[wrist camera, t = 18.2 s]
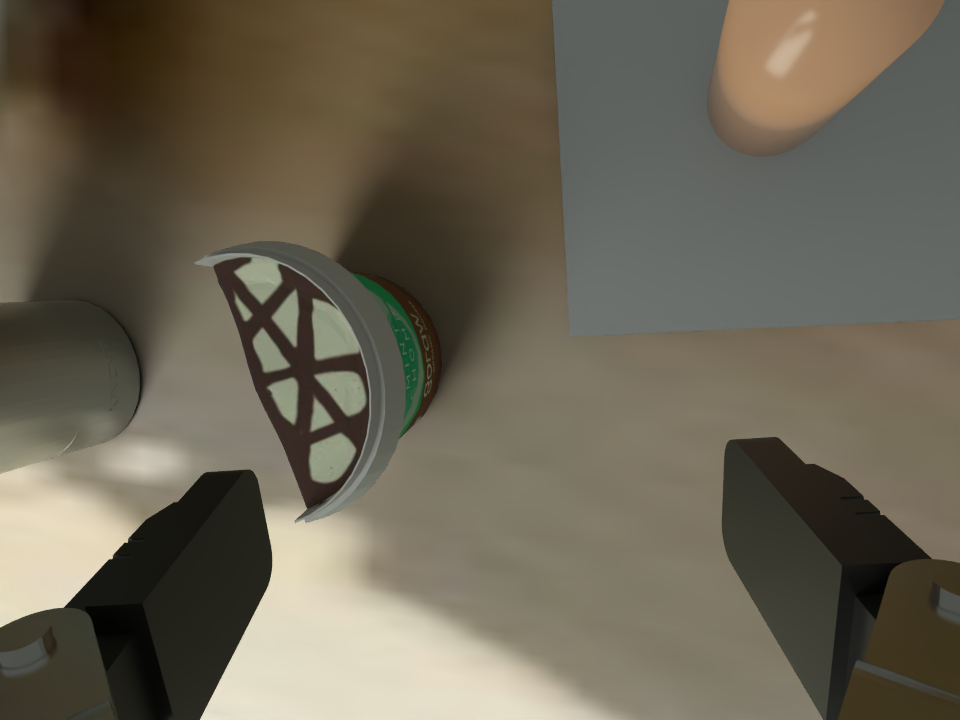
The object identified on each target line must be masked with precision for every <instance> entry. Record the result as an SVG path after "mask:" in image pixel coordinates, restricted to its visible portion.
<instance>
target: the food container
mask: <svg viewBox="0 0 960 720" xmlns="http://www.w3.org/2000/svg"><path fill="white" fill-rule="evenodd" d="M203 258H204V259H202V260H199V261H197V262H194V263H195V264H197V265H203V266H209V267H214V270H215V273H216V275H217V279H218V283H219V285H220V287H221V288H222V290H223V292H224V294H225V296H226V299H227V301H228V303H229V306H230V309H231V312H232V314H233V317H234V320H235V322H236V325H237V328H238V331H239V334H240V337H241V341H242V345H243V348H244V352H245V356H246V359H247V363H248V367H249V370H250V373H251V376H252V380H253V383H254V386H255V389H256V392H257V394H258V396H259V398H260V400H261V402H262V404H263V407H264V409H265V411H266V413H267V415H268V417H269V419H270V421H271V422H272V424H273V426H274V428H275V430H276V432H277V434H278V436H279V439H280V441H281V443H282V445H283V447H284V450H285V452H286V455H287V457H288V460H289V462H290V465H291V468H292V470H293V473H294V475H295V478H296V480H297V483H298V486H299V488H300V491H301V494H302V496H303V499H304V502H305V504H306V507H307V510H306V511H305V512H304V513H303V514H302V515H301V516H299V517H298V518H297V519H296V520H295V523H296V522H299V521H301V520H303V519H305V522H306V523H307V522H311V521H314V520H318V519H321V518H324V517H327V516H329V515H331V514H334V513H336V512H338V511H341V510H343V509H344V508H346V507H347V506H349V505H350V504H352V503H353V502H355V501H356V500H358V499H359V498H360V497H361V496H362V495H363V494H365V493H366V492H367V491H368V490H369V489H370V488H371V487H372V486H373V485H374V484H375V482H376V481H377V480H378V478H379V477H380V476H381V474H382V473H383V472H384V470H385V469H386V467H387V465H388V463H389V461H390V459H391V457H392V455H393V453H394V451H395V449H396V446H397V443H398V440H399V439H400V438H401V437H402V436H403V435H404V434H405V433H406V432H407V431H408V430H409V429H410V428H411V427H412V426H413V425H414V424H415V423H416V422H417V421H418V420H419V419H420V418H421V417H422V416H423V415H424V414H425V412H426V410H427V408H428V406H429V405H430V403H431V401H432V399H433V397H434V396H435V394H436V392H437V387H438V382H439V377H440V372H441V367H442V362H441V352H440V343H439V339H438V336H437V333H436V329H435V327H434V325H433V323H432V321H431V319H430V317H429V315H428V314H427V313H426V311H425V310H424V308H423V307H422V305H421V304H420V303H419V302H418V301H417V300H416V299H415V298H414V297H413V296H412V295H411V294H410V293H408V292H407V291H406V290H404V289H403V288H402V287H400V286H398V285H396V284H394V283H393V282H391V281H388V280H385V279H383V278H380V277H376V276H371V275H366V274H361V273H356V272H351V271H347V270H346V269H345V268H344V267H342V266H341V265H340V264H339V263H337V262H335V261H333V260H332V259H330V258H328V257H326V256H325V255H323V254H321V253H319V252H317V251H314V250H311V249H308V248H306V247H303V246H300V245H296V244H290V243H284V242H279V241H258V242H253V243H248V244H242V245H237V246H234V247H230V248H226V249H223V250H219V251H217V252H214V253H211V254H209V255H206V256H203Z"/></svg>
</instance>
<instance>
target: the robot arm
mask: <svg viewBox="0 0 960 720" xmlns="http://www.w3.org/2000/svg"><path fill="white" fill-rule="evenodd" d="M139 390H140V377H139V368H138V363H137V358H136V355H135V352H134V350H133V347H132V345H131V342H130V340H129V338H128V337H127V335H126V334H125V332H124V330H123V329H122V327H121V326H120V325H119V324H118V323H117V322H116V321H115V319H114V318H113V317H112V316H111V315H109V314H108V313H107V312H105V311H104V310H103V309H101V308H100V307H98V306H95V305H93V304H91V303H89V302H84V301H79V300H60V301H38V302H8V303H0V474H1V473H4V472H8V471H11V470H14V469H17V468H21V467H24V466H27V465H31V464H34V463H37V462H41V461H44V460H48V459H51V458H55V457H58V456H61V455H64V454H68V453H71V452H74V451H77V450H81V449H84V448H87V447H91V446H94V445H97V444H100V443H104V442H107V441H109V440H110V439H112V438H114V437H115V436H117V435H118V434H119V433H120V432H121V431H122V430H123V429H124V428H125V427H126V426H127V424H128V423H129V421H130V420H131V418H132V416H133V414H134V411H135V408H136V406H137V403H138V397H139ZM722 534H723V541H724V545H725V549H726V553H727V556H728V558H729V560H730V562H731V564H732V566H733V568H734V569H735V571H736V573H737V574H738V576H739V578H740V579H741V581H742V583H743V584H744V586H745V588H746V590H747V591H748V593H749V595H750V596H751V598H752V600H753V601H754V603H755V605H756V606H757V608H758V610H759V612H760V613H761V615H762V617H763V618H764V620H765V622H766V623H767V625H768V627H769V628H770V630H771V632H772V634H773V635H774V637H775V639H776V640H777V642H778V644H779V645H780V647H781V649H782V650H783V652H784V654H785V656H786V657H787V659H788V661H789V662H790V664H791V666H792V667H793V669H794V671H795V672H796V674H797V676H798V678H799V679H800V681H801V683H802V684H803V686H804V688H805V689H806V691H807V693H808V694H809V696H810V698H811V700H812V701H813V703H814V705H815V706H816V708H817V710H818V711H819V713H820V715H821V716H822V718H823V720H960V563H957V562H952V561H946V560H937V559H932V558H931V557H929V556H928V555H927V554H926V553H925V552H924V551H923V550H922V549H921V548H920V547H919V546H917V545H916V544H915V543H914V542H913V541H912V540H911V539H910V538H909V537H908V536H906V535H905V534H904V533H903V532H902V531H901V530H900V529H899V528H898V527H897V526H896V525H894V524H893V523H892V522H891V521H890V520H889V519H888V518H887V517H886V516H885V515H880V511H879V510H878V509H877V508H876V507H875V506H874V505H873V504H872V503H870V502H869V501H868V500H864V497H863V495H862V494H861V493H859V492H858V491H857V490H856V489H855V488H854V487H853V486H852V485H851V484H850V483H849V482H847V481H846V480H845V479H844V478H842V477H840V476H838V475H836V474H834V473H832V472H830V471H828V470H826V469H824V468H822V467H820V466H818V465H816V464H805V463H804V462H803V461H802V460H801V459H800V458H799V457H798V456H797V455H796V454H795V453H794V452H793V451H792V450H791V449H790V448H788V447H787V446H786V445H785V444H784V443H783V442H782V441H781V440H780V439H779V438H777V437H768V438H752V439H736V440H730V441H729V442H728V443H727V445H726V449H725V456H724V480H723V506H722ZM271 571H272V550H271V544H270V539H269V534H268V529H267V524H266V519H265V514H264V509H263V504H262V499H261V494H260V489H259V484H258V480H257V477H256V475H255V474H254V472H253V471H252V470H234V471H218V472H206V473H204V474H203V475H202V476H201V477H200V478H199V479H198V480H197V481H196V482H195V483H194V485H193V486H192V487H191V488H190V489H189V490H188V491H187V492H186V494H185V495H184V496H183V497H182V498H181V499H180V500H179V501H178V502H175V503H172V504H171V505H169V506H167V507H166V508H164V509H163V510H161V511H159V512H158V513H156V514H155V515H153V516H151V517H150V518H148V519H147V520H145V522H144V523H143V524H142V525H141V526H140V527H139V528H138V529H137V530H136V531H135V532H134V533H133V534H132V535H131V537H130V538H129V539H128V543H124V544H123V545H122V546H121V547H120V548H119V549H118V550H117V551H116V553H115V554H114V555H113V559H109V560H108V561H107V562H106V563H105V564H104V565H103V566H102V567H101V569H100V570H99V571H98V572H97V573H96V574H95V575H94V576H93V577H92V578H91V579H90V580H89V581H88V582H87V584H86V585H85V586H84V587H83V588H82V589H81V590H80V591H79V592H78V593H77V594H76V595H75V596H74V597H73V598H72V600H71V601H70V602H69V603H68V604H67V605H66V606H65V607H64V608H56V609H50V610H45V611H41V612H37V613H34V614H31V615H28V616H25V617H22V618H20V619H18V620H15V621H13V622H11V623H9V624H7V625H5V626H3V627H1V628H0V720H200V718H201V716H202V714H203V712H204V710H205V708H206V707H207V705H208V703H209V701H210V699H211V697H212V695H213V693H214V691H215V689H216V687H217V685H218V683H219V681H220V679H221V677H222V675H223V673H224V671H225V669H226V667H227V665H228V663H229V661H230V660H231V658H232V656H233V654H234V652H235V650H236V648H237V646H238V644H239V642H240V640H241V638H242V636H243V634H244V632H245V630H246V628H247V626H248V624H249V622H250V620H251V618H252V616H253V614H254V613H255V611H256V609H257V607H258V605H259V603H260V601H261V599H262V597H263V595H264V593H265V591H266V589H267V587H268V584H269V581H270V577H271Z"/></svg>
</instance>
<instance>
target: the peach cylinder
mask: <svg viewBox="0 0 960 720" xmlns="http://www.w3.org/2000/svg"><path fill="white" fill-rule="evenodd" d="M944 2H945V0H729V3H728V7H727V11H726V15H725V20H724V24H723V28H722V33H721V37H720V41H719V45H718V50H717V54H716V58H715V63H714V67H713V71H712V75H711V80H710V84H709V88H708V94H707V112H708V116H709V120H710V123H711V125H712V127H713V129H714V131H715V133H716V134H717V135H718V137H719V138H720V139H721V140H722V141H723V142H724V143H725V144H726V145H728V146H729V147H730V148H732V149H734V150H736V151H738V152H740V153H743V154H746V155H750V156H758V157H767V156H775V155H779V154H783V153H786V152H788V151H791V150H793V149H795V148H797V147H798V146H800V145H802V144H803V143H804V142H806V141H807V140H808V139H810V138H811V137H812V136H813V135H814V134H815V133H816V132H817V131H818V130H819V129H820V128H822V127H823V126H824V125H825V124H826V123H827V122H828V121H829V120H830V119H831V118H833V117H834V116H835V115H836V114H837V113H838V112H839V111H840V110H841V109H842V108H843V107H845V106H846V105H847V104H848V103H849V102H850V101H851V100H852V99H853V98H854V97H856V96H857V95H858V94H859V93H860V92H861V91H862V90H863V89H864V88H865V87H866V86H868V85H869V84H870V83H871V82H872V81H873V80H874V79H875V78H876V77H877V76H878V75H880V74H881V73H882V72H883V71H884V70H885V69H886V68H887V67H888V66H889V65H891V64H892V63H893V62H894V61H895V60H896V59H897V58H898V57H899V56H900V55H901V54H903V53H904V52H905V51H906V50H907V49H908V48H909V47H910V46H911V45H912V44H913V43H914V42H916V41H917V40H918V39H919V38H920V37H921V36H922V34H923V33H924V32H925V31H926V30H927V29H928V27H929V26H930V25H931V23H932V22H933V20H934V19H935V17H936V16H937V14H938V13H939V11H940V9H941V7H942V5H943V3H944Z"/></svg>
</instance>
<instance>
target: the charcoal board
mask: <svg viewBox="0 0 960 720" xmlns="http://www.w3.org/2000/svg"><path fill="white" fill-rule="evenodd" d="M728 3H729V0H552V11H553V30H554V49H555V68H556V86H557V105H558V124H559V142H560V161H561V180H562V199H563V217H564V236H565V255H566V273H567V292H568V311H569V330H570V337H573V336H595V335H617V334H640V333H662V332H685V331H707V330H729V329H752V328H774V327H796V326H819V325H841V324H863V323H886V322H908V321H931V320H953V319H960V0H945V2H944V3H943V5H942V7H941V9H940V11H939V13H938V14H937V16H936V17H935V19H934V20H933V22H932V23H931V25H930V26H929V27H928V29H927V30H926V31H925V32H924V33H923V34H922V36H921V37H920V38H919V39H918V40H917V41H916V42H914V43H913V44H912V45H911V46H910V47H909V48H908V49H907V50H906V51H905V52H904V53H903V54H901V55H900V56H899V57H898V58H897V59H896V60H895V61H894V62H893V63H892V64H891V65H889V66H888V67H887V68H886V69H885V70H884V71H883V72H882V73H881V74H880V75H878V76H877V77H876V78H875V79H874V80H873V81H872V82H871V83H870V84H869V85H868V86H866V87H865V88H864V89H863V90H862V91H861V92H860V93H859V94H858V95H857V96H856V97H854V98H853V99H852V100H851V101H850V102H849V103H848V104H847V105H846V106H845V107H843V108H842V109H841V110H840V111H839V112H838V113H837V114H836V115H835V116H834V117H833V118H831V119H830V120H829V121H828V122H827V123H826V124H825V125H824V126H823V127H822V128H820V129H819V130H818V131H817V132H816V133H815V134H814V135H813V136H812V137H811V138H810V139H808V140H807V141H806V142H804V143H803V144H802V145H800V146H798V147H797V148H795V149H793V150H791V151H788V152H786V153H783V154H779V155H775V156H767V157H758V156H750V155H746V154H743V153H740V152H738V151H736V150H734V149H732V148H730V147H729V146H728V145H726V144H725V143H724V142H723V141H722V140H721V139H720V138H719V137H718V135H717V134H716V133H715V131H714V129H713V127H712V125H711V123H710V120H709V116H708V112H707V94H708V88H709V84H710V80H711V75H712V71H713V67H714V63H715V58H716V54H717V50H718V45H719V41H720V37H721V33H722V28H723V24H724V20H725V15H726V11H727V7H728Z"/></svg>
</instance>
